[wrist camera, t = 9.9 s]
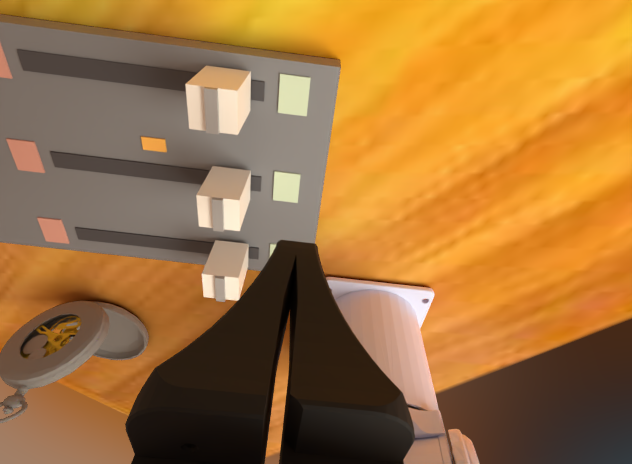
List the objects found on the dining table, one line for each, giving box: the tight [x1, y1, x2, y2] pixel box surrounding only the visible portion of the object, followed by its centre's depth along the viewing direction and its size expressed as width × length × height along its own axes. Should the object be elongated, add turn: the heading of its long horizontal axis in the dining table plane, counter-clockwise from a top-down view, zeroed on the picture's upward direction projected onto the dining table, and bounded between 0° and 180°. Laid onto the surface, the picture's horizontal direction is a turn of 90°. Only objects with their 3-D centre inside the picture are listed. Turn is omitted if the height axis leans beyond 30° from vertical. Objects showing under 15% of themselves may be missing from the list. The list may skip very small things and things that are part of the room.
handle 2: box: [202, 240, 249, 302], centre depth 22 cm, size 2×2×3 cm
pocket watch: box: [0, 301, 149, 423], centre depth 26 cm, size 8×8×10 cm
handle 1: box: [185, 65, 251, 135], centre depth 16 cm, size 2×2×3 cm
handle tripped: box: [196, 166, 251, 232], centre depth 19 cm, size 2×2×3 cm
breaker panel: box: [0, 14, 341, 271], centre depth 21 cm, size 13×20×2 cm, turn 83°
